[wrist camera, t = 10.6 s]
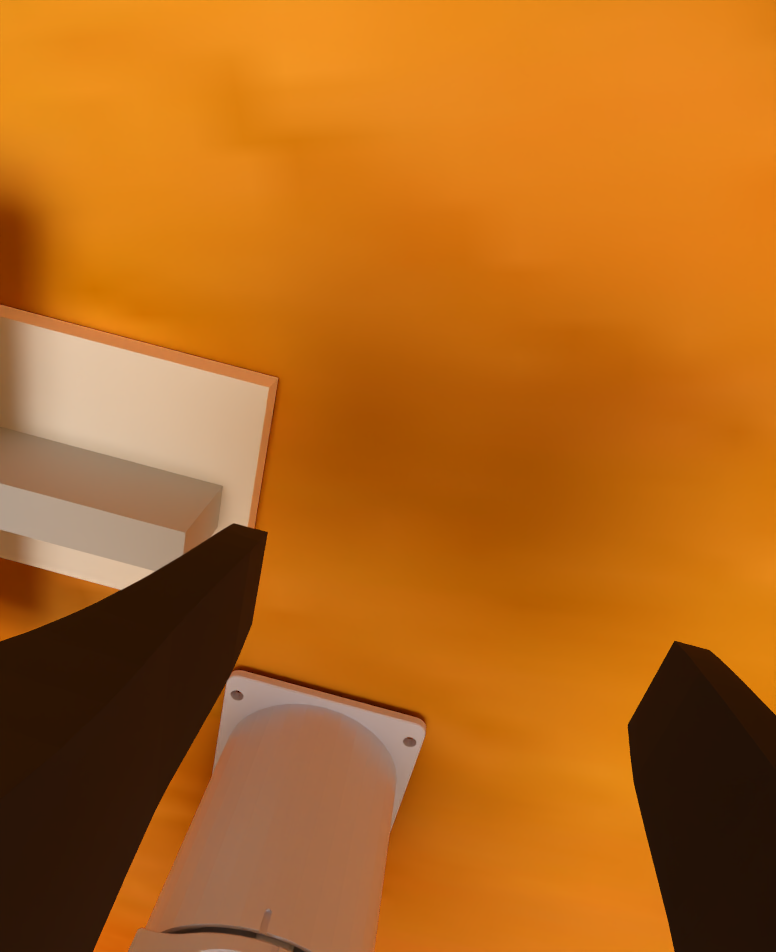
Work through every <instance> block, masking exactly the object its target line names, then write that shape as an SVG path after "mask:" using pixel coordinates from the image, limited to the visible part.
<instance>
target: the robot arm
mask: <svg viewBox="0 0 776 952" xmlns="http://www.w3.org/2000/svg"><path fill="white" fill-rule="evenodd" d="M267 533H268V532H265V531H261V530H257V529H254V528H250V527H246V526H242V525H239V524H235V523H233V524H231V525H229V526H228V527H226V528H224V529H223V530H221V531H219V532H218V533H216V534H215V535H213V536H212V537H210V538H208V539H207V540H205V541H204V542H202V543H201V544H199V545H198V546H196V547H194V548H193V549H191V550H190V551H188V552H186V553H185V554H183V555H182V556H180V557H178V558H177V559H175V560H173V561H172V562H170V563H168V564H167V565H165V566H163V567H161V568H160V569H158V570H156V571H155V572H153V573H151V574H150V575H148V576H146V577H144V578H143V579H141V580H139V581H137V582H135V583H133V584H131V585H130V586H128V587H126V588H124V589H122V590H120V591H118V592H116V593H114V594H112V595H110V596H109V597H107V598H105V599H103V600H101V601H99V602H97V603H95V604H93V605H91V606H89V607H86V608H84V609H82V610H80V611H78V612H75V613H73V614H71V615H69V616H66V617H64V618H61V619H59V620H56V621H54V622H52V623H49V624H47V625H44V626H42V627H40V628H37V629H34V630H32V631H29V632H27V633H24V634H21V635H18V636H15V637H12V638H9V639H6V640H3V641H0V952H93V950H94V948H95V945H96V943H97V941H98V938H99V936H100V934H101V932H102V929H103V927H104V925H105V922H106V920H107V918H108V915H109V913H110V911H111V909H112V906H113V904H114V902H115V899H116V897H117V895H118V893H119V890H120V888H121V886H122V883H123V881H124V879H125V876H126V874H127V872H128V870H129V867H130V865H131V863H132V861H133V859H134V856H135V854H136V852H137V850H138V847H139V845H140V843H141V841H142V839H143V836H144V834H145V832H146V830H147V827H148V825H149V823H150V821H151V819H152V816H153V814H154V812H155V810H156V808H157V806H158V804H159V802H160V800H161V798H162V796H163V795H164V793H165V791H166V789H167V787H168V785H169V783H170V781H171V780H172V778H173V776H174V774H175V773H176V771H177V769H178V767H179V765H180V764H181V762H182V760H183V758H184V757H185V755H186V753H187V751H188V750H189V748H190V746H191V744H192V743H193V741H194V739H195V737H196V736H197V734H198V732H199V730H200V729H201V727H202V725H203V723H204V721H205V720H206V718H207V716H208V714H209V713H210V711H211V709H212V707H213V706H214V704H215V702H216V700H217V698H218V697H219V695H220V693H221V691H222V689H223V688H224V686H225V684H226V689H225V695H224V702H223V708H222V714H221V721H220V727H219V734H218V740H217V746H216V753H215V759H214V765H213V772H212V777H211V779H210V781H209V784H208V786H207V788H206V791H205V793H204V795H203V797H202V800H201V802H200V804H199V807H198V809H197V811H196V813H195V816H194V818H193V820H192V823H191V825H190V827H189V829H188V832H187V834H186V836H185V839H184V841H183V843H182V845H181V848H180V850H179V852H178V855H177V857H176V859H175V861H174V864H173V866H172V868H171V870H170V873H169V875H168V877H167V880H166V882H165V884H164V886H163V889H162V891H161V893H160V896H159V898H158V900H157V902H156V905H155V907H154V909H153V912H152V914H151V916H150V918H149V921H148V923H147V925H146V928H140V929H138V930H137V933H136V935H135V937H134V939H133V942H132V944H131V946H130V948H129V951H128V952H374V948H375V941H376V933H377V926H378V918H379V911H380V903H381V896H382V888H383V881H384V873H385V866H386V858H387V850H388V843H389V835H390V832H391V829H392V826H393V823H394V821H395V818H396V815H397V812H398V810H399V807H400V804H401V801H402V799H403V796H404V793H405V790H406V788H407V785H408V782H409V779H410V777H411V774H412V771H413V768H414V765H415V763H416V760H417V757H418V754H419V752H420V749H421V746H422V743H423V741H424V738H425V733H426V725H425V722H423V721H422V720H421V719H419V718H417V717H413V716H410V715H406V714H402V713H399V712H395V711H391V710H387V709H384V708H380V707H376V706H373V705H369V704H365V703H361V702H358V701H354V700H350V699H347V698H343V697H339V696H336V695H332V694H328V693H324V692H321V691H317V690H313V689H310V688H306V687H302V686H298V685H295V684H291V683H287V682H284V681H280V680H276V679H273V678H269V677H265V676H261V675H258V674H254V673H250V672H247V671H243V670H236V671H233V668H234V666H235V664H236V661H237V659H238V657H239V654H240V652H241V649H242V647H243V645H244V642H245V640H246V637H247V635H248V632H249V630H250V627H251V625H252V621H253V615H254V609H255V603H256V597H257V591H258V586H259V580H260V574H261V568H262V562H263V556H264V551H265V545H266V539H267ZM232 671H233V672H232ZM235 690H237V691H240V692H241V693H238V692H236V691H235ZM628 733H629V745H630V756H631V764H632V772H633V780H634V785H635V790H636V794H637V798H638V803H639V807H640V811H641V815H642V819H643V823H644V827H645V831H646V835H647V839H648V843H649V847H650V851H651V855H652V859H653V863H654V867H655V871H656V875H657V879H658V883H659V887H660V891H661V895H662V899H663V903H664V906H665V910H666V914H667V918H668V922H669V927H670V932H671V937H672V941H673V946H674V951H675V952H776V715H775V714H774V713H773V712H772V711H771V710H770V709H769V708H768V707H767V706H766V705H765V704H764V703H763V702H762V701H761V700H760V699H759V698H758V697H757V696H756V695H755V693H754V692H753V691H752V690H751V689H750V688H749V687H748V686H747V685H746V684H745V683H744V682H743V681H742V680H741V679H740V678H739V677H738V676H737V675H736V674H735V673H734V672H733V671H732V670H731V669H730V668H729V667H728V666H727V665H725V664H724V663H723V662H722V661H721V660H720V659H719V658H718V657H717V656H716V655H714V654H713V653H712V652H711V651H710V650H707V649H703V648H699V647H696V646H692V645H688V644H684V643H681V642H677V641H674V643H673V645H672V646H671V648H670V650H669V652H668V654H667V655H666V657H665V659H664V661H663V663H662V664H661V666H660V668H659V670H658V672H657V673H656V675H655V677H654V679H653V681H652V682H651V684H650V686H649V688H648V690H647V691H646V693H645V695H644V697H643V699H642V700H641V702H640V704H639V706H638V707H637V709H636V711H635V713H634V715H633V716H632V718H631V720H630V722H629V724H628ZM407 737H411V738H413V739H408V738H407Z"/></svg>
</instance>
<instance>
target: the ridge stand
mask: <svg viewBox="0 0 776 952" xmlns="http://www.w3.org/2000/svg"><path fill="white" fill-rule="evenodd" d="M277 384H278V378H277V377H273V376H270V375H266V374H262V373H258V372H254V371H251V370H247V369H243V368H239V367H235V366H232V365H228V364H224V363H220V362H217V361H213V360H209V359H205V358H201V357H198V356H194V355H190V354H186V353H182V352H179V351H175V350H171V349H167V348H163V347H160V346H156V345H152V344H148V343H145V342H141V341H137V340H133V339H129V338H126V337H122V336H118V335H114V334H110V333H107V332H103V331H99V330H95V329H91V328H88V327H84V326H80V325H76V324H73V323H69V322H65V321H61V320H57V319H54V318H50V317H46V316H42V315H38V314H35V313H31V312H27V311H23V310H19V309H16V308H12V307H8V306H4V305H0V557H1V558H4V559H8V560H12V561H15V562H19V563H23V564H27V565H30V566H34V567H38V568H41V569H45V570H49V571H53V572H56V573H60V574H64V575H67V576H71V577H75V578H79V579H82V580H86V581H90V582H94V583H97V584H101V585H105V586H108V587H112V588H116V589H120V590H122V589H124V588H126V587H128V586H130V585H131V584H133V583H135V582H137V581H139V580H141V579H143V578H144V577H146V576H148V575H150V574H151V573H153V572H155V571H156V570H158V569H160V568H161V567H163V566H165V565H167V564H168V563H170V562H172V561H173V560H175V559H177V558H178V557H180V556H182V555H183V554H185V553H186V552H188V551H190V550H191V549H193V548H194V547H196V546H198V545H199V544H201V543H202V542H204V541H205V540H207V539H208V538H210V537H212V536H213V535H215V534H216V533H218V532H219V531H221V530H223V529H224V528H226V527H228V526H229V525H231V524H233V523H235V524H239V525H242V526H246V527H250V528H255V521H256V515H257V509H258V503H259V496H260V490H261V484H262V478H263V471H264V465H265V459H266V453H267V446H268V440H269V434H270V428H271V421H272V415H273V409H274V403H275V396H276V390H277Z"/></svg>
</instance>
